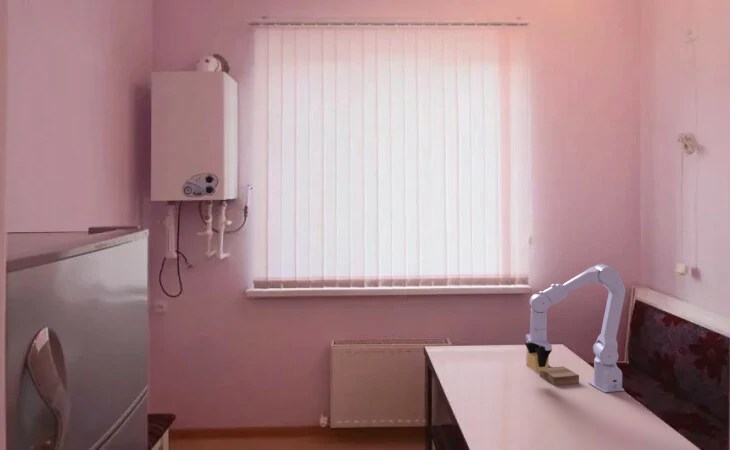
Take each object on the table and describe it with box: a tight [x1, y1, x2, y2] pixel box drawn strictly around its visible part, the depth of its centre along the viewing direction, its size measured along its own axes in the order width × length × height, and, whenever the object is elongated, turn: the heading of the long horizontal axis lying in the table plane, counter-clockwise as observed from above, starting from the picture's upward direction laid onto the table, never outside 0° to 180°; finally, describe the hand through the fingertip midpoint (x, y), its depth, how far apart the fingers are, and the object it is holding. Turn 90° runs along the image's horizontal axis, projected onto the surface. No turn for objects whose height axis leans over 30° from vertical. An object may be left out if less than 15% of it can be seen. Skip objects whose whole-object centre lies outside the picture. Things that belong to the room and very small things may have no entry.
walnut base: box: [539, 366, 580, 386], centre depth 200 cm, size 10×10×3 cm
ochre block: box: [527, 353, 549, 372], centre depth 196 cm, size 5×5×5 cm
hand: (538, 364), depth 196 cm, fingers closed on ochre block, 5 cm apart
